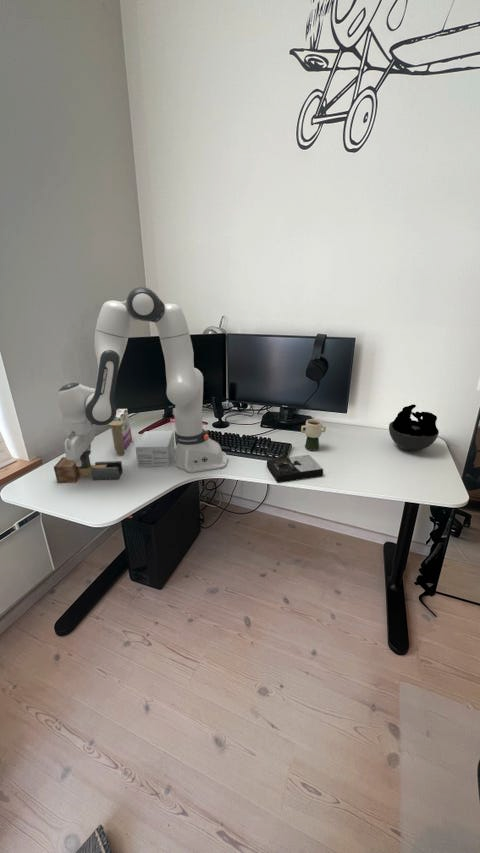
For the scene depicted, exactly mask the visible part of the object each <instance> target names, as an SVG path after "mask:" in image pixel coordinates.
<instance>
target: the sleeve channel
mask: <svg viewBox="0 0 480 853" xmlns="http://www.w3.org/2000/svg"><path fill="white" fill-rule="evenodd" d="M103 464H107V465H108V467H105V468H91V473H92V478H91V479H92V481H93V482H95V481H96V482H97V481H100V482H101V481H119V480H120V479H121V477H122V476H123V473H124V469H123V463H122V460H119V461H118V460H117V461H115V460H113V461H109V460H108V461H95V462H94V465H103Z"/></svg>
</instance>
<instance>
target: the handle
mask: <svg viewBox="0 0 480 853" xmlns="http://www.w3.org/2000/svg"><path fill="white" fill-rule="evenodd" d="M107 426H108V428H110V429H111V428H112V429H113V435H114V441H113V445H115V447H114V450H115V449H116V450H115V452H116V455H117V456H124V454H125V450H124V441H123V436H122V432H121V427H123V426H124V422H122V421H112V422H111V423H109V424H107ZM113 435H112V436H113Z"/></svg>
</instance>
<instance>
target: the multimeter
mask: <svg viewBox="0 0 480 853" xmlns="http://www.w3.org/2000/svg"><path fill="white" fill-rule="evenodd" d="M266 468H267V470H268V471H269V473H270V475H271V476H272V477H273V479H274V481H275V482H276V483H277V484H279V483H285V482H286V483H287V482H292V481H294V482H295V481H298V480H299V481H300V480H306V479H313V478H321V477H323V476H324V468H323V467H321V466H320V464H318V462H317V461H316V460H315V459H314V458H313V457H312V456H311V455H310V454H303V455H302V454H301V455H296V456H288V457H282V458H281V457H280V458H272V459H267V460H266Z"/></svg>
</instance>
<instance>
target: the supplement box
mask: <svg viewBox="0 0 480 853" xmlns="http://www.w3.org/2000/svg"><path fill="white" fill-rule="evenodd" d="M175 446H176V445H175V432H174V430H158V431H157V430H156V431H155V430H152V431H151V430H150V431H144V432H143V433H142V436H141V438H140V439H139V441H138V444H136V446H135V452H136V461H137V462H136V463H137V467H138V468H140V467H141V468H145V467H147V468H151V467H158V468H159V467H160V468H161V467H170V464H171V461H172V458H173V455H174V452H175V450H176V448H175Z"/></svg>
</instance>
